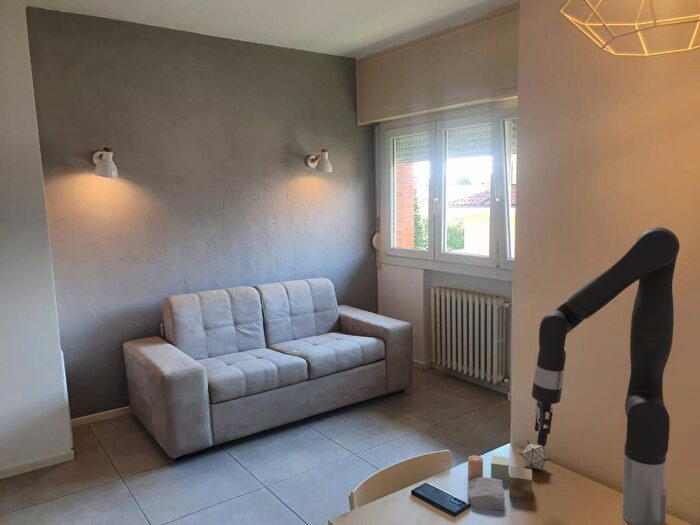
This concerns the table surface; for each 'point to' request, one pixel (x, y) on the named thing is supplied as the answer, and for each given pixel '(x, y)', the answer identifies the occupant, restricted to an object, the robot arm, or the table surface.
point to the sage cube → (500, 468)
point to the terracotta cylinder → (475, 467)
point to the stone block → (486, 493)
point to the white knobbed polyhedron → (534, 456)
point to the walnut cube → (520, 483)
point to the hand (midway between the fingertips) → (539, 437)
